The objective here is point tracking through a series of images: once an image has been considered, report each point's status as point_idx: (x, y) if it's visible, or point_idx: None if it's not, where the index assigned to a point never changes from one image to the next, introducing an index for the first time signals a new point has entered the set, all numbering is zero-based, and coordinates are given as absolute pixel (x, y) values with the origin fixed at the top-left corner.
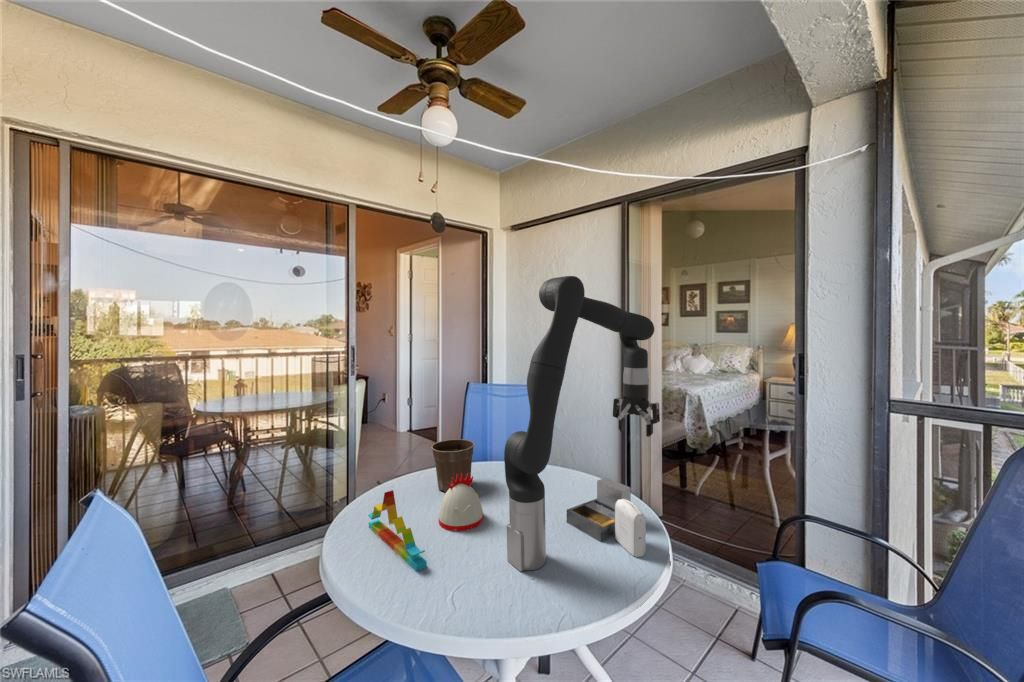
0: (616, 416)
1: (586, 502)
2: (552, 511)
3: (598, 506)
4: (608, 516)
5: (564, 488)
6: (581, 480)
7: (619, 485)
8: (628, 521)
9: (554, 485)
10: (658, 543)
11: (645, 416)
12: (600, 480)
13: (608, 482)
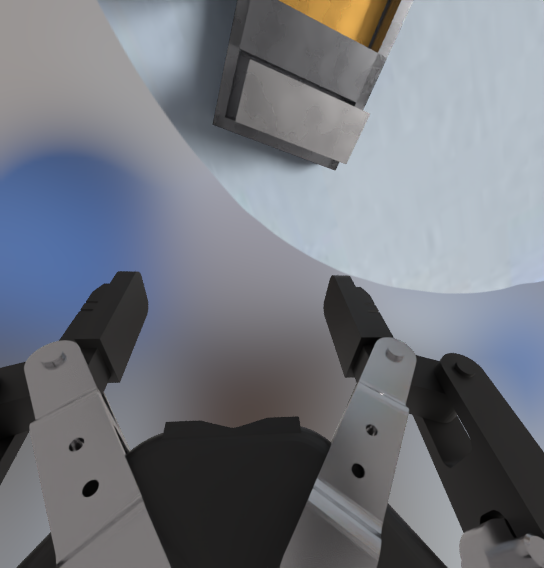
0: (433, 369)
1: (375, 81)
2: (465, 32)
3: (331, 73)
4: (278, 6)
5: (448, 204)
6: (414, 265)
7: (278, 116)
8: None
9: (476, 205)
10: (120, 23)
11: (41, 419)
12: (357, 123)
13: (324, 121)
